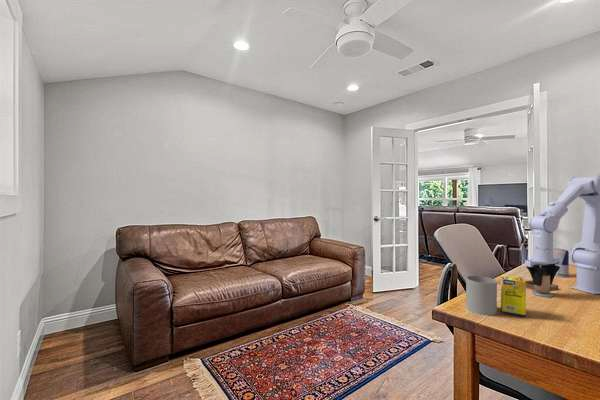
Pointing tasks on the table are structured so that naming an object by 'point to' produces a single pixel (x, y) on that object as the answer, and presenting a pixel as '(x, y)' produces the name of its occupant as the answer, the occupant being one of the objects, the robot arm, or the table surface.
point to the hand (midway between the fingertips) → (542, 284)
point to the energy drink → (562, 262)
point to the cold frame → (531, 285)
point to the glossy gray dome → (542, 294)
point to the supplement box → (513, 295)
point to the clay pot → (544, 284)
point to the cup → (481, 295)
